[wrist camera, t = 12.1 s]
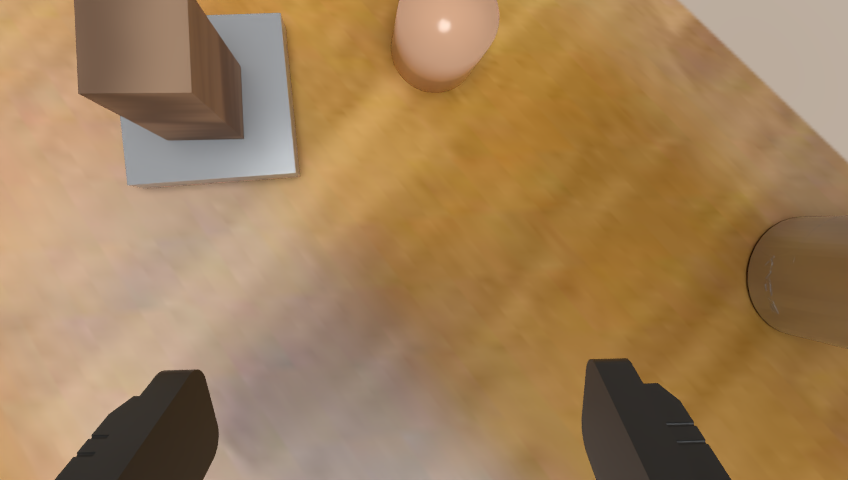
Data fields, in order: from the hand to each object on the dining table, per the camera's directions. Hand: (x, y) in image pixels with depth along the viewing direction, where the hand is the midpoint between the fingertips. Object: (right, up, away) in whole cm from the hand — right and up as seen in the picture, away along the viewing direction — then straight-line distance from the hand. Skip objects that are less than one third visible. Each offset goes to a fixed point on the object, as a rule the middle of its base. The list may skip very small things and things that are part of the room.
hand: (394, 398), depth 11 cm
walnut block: (-13, +12, +21) cm, 27 cm away
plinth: (-13, +12, +24) cm, 30 cm away
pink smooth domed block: (+1, +17, +25) cm, 30 cm away
